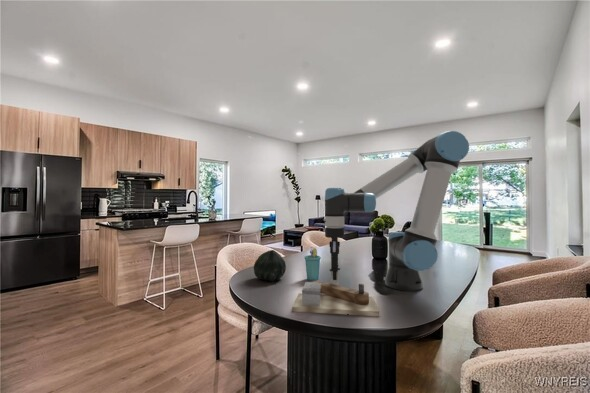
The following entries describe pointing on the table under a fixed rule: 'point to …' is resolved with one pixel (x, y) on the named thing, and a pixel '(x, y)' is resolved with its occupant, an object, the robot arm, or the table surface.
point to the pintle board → (337, 306)
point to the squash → (269, 266)
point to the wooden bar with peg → (345, 293)
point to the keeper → (311, 294)
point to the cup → (312, 265)
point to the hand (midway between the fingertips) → (334, 287)
